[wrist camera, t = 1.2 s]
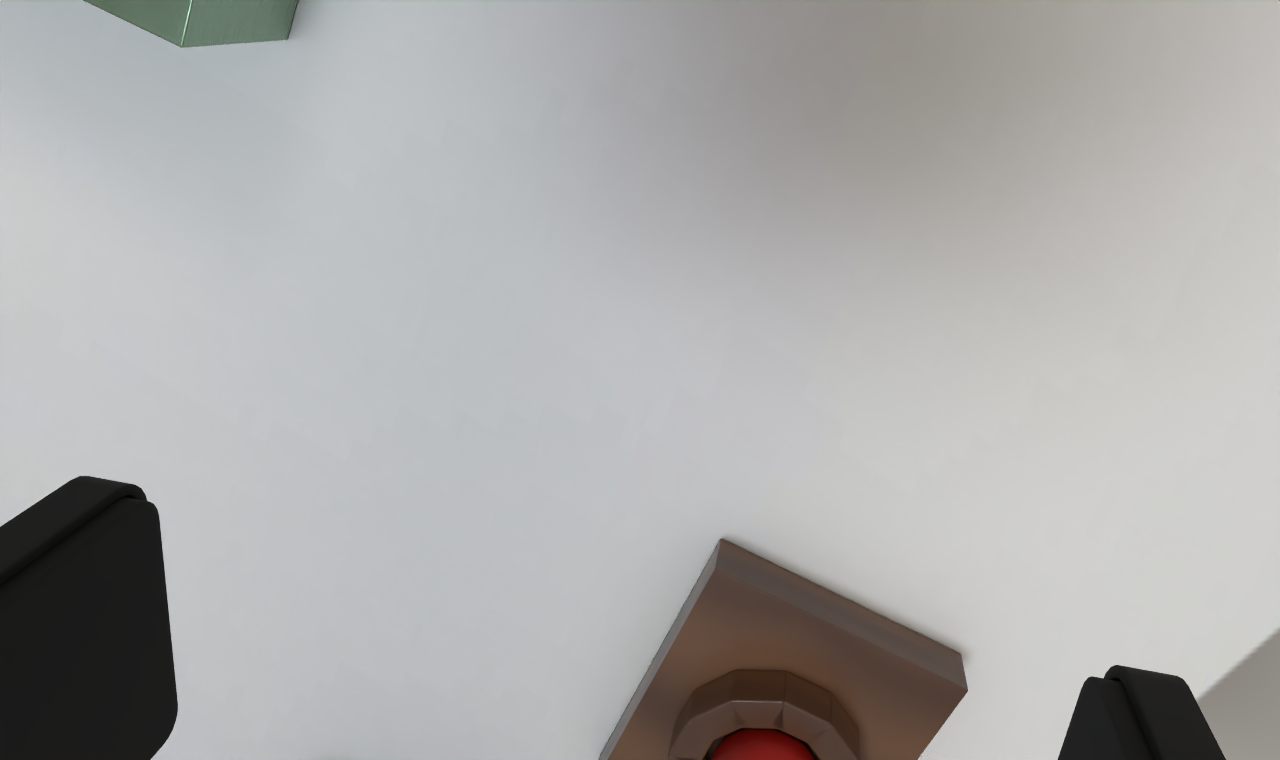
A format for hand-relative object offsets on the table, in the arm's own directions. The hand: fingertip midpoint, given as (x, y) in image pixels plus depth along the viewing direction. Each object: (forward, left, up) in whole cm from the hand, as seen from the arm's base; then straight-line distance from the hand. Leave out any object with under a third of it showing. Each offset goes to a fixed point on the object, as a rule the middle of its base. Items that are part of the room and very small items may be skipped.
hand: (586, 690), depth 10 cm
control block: (+18, +9, -25) cm, 32 cm away
